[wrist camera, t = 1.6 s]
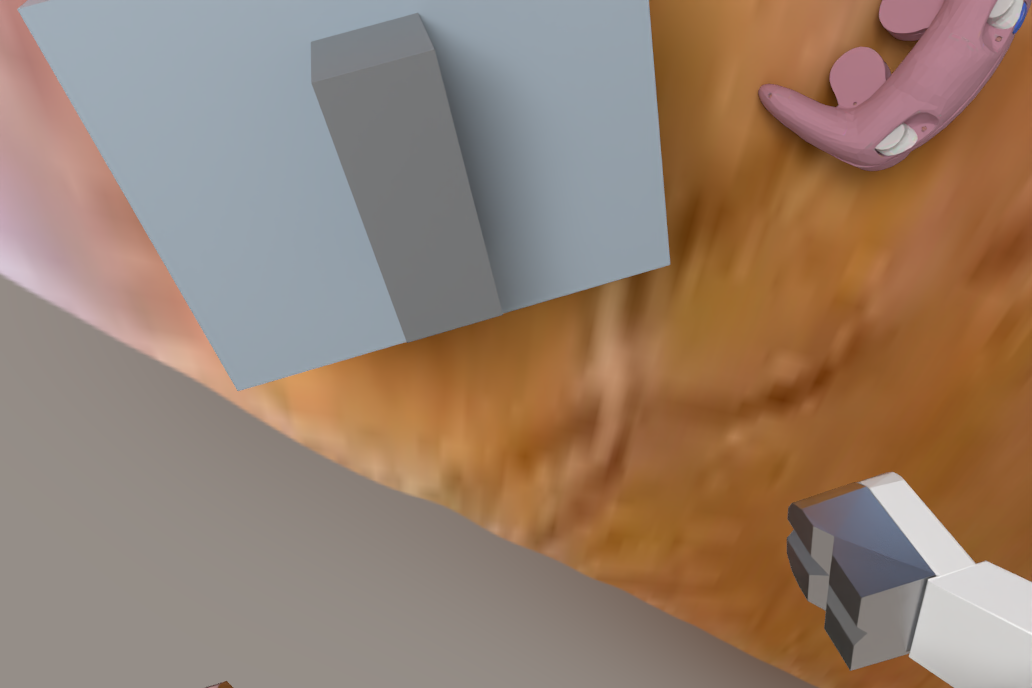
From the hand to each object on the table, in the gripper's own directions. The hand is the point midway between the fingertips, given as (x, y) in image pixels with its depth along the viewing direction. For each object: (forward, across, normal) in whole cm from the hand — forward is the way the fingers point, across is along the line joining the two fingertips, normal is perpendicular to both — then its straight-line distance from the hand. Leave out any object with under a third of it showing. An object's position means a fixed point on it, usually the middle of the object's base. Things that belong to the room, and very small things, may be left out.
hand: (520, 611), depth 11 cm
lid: (+19, 0, 0) cm, 19 cm away
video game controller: (+26, +21, -4) cm, 33 cm away
